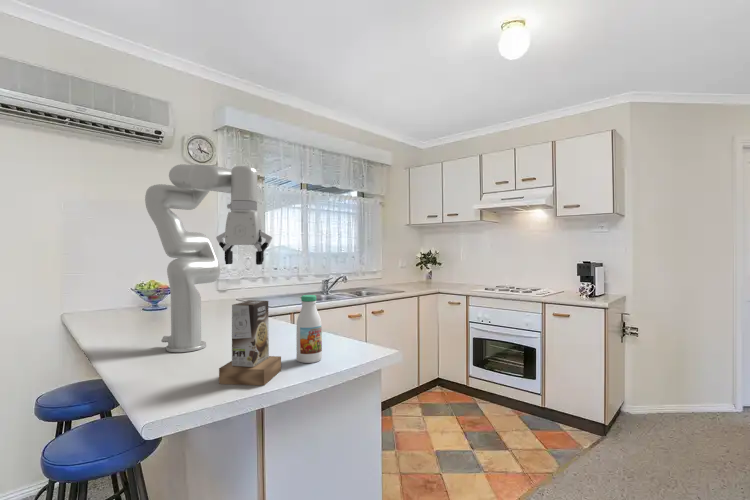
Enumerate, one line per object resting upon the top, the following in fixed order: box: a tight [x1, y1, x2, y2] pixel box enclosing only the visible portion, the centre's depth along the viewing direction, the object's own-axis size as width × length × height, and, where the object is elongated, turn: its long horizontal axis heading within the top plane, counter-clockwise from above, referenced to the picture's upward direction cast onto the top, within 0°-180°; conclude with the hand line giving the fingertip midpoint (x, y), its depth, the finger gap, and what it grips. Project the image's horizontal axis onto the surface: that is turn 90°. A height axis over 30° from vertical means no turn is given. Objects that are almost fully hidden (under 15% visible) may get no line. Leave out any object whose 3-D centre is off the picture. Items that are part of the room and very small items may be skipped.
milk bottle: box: [295, 294, 323, 364], centre depth 120 cm, size 8×8×20 cm
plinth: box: [218, 355, 282, 386], centre depth 104 cm, size 12×12×4 cm
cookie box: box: [231, 300, 270, 367], centre depth 104 cm, size 9×6×16 cm
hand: (244, 264), depth 118 cm, fingers open, 9 cm apart
